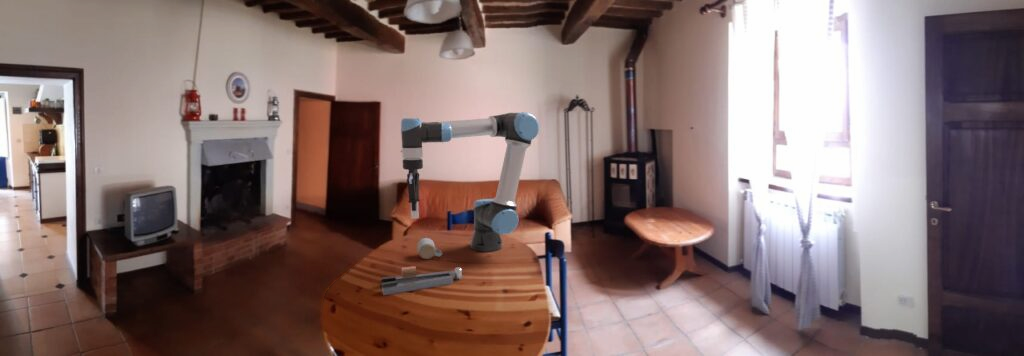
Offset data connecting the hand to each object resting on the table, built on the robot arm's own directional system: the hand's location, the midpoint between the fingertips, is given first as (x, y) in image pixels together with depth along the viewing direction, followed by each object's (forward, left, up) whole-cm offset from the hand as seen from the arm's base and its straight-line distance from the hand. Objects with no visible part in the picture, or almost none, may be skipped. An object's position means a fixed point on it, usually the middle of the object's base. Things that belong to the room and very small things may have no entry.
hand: (414, 218), depth 159 cm
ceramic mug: (-9, -15, -22) cm, 28 cm away
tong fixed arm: (+3, +16, -22) cm, 27 cm away
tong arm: (0, +12, -21) cm, 24 cm away
